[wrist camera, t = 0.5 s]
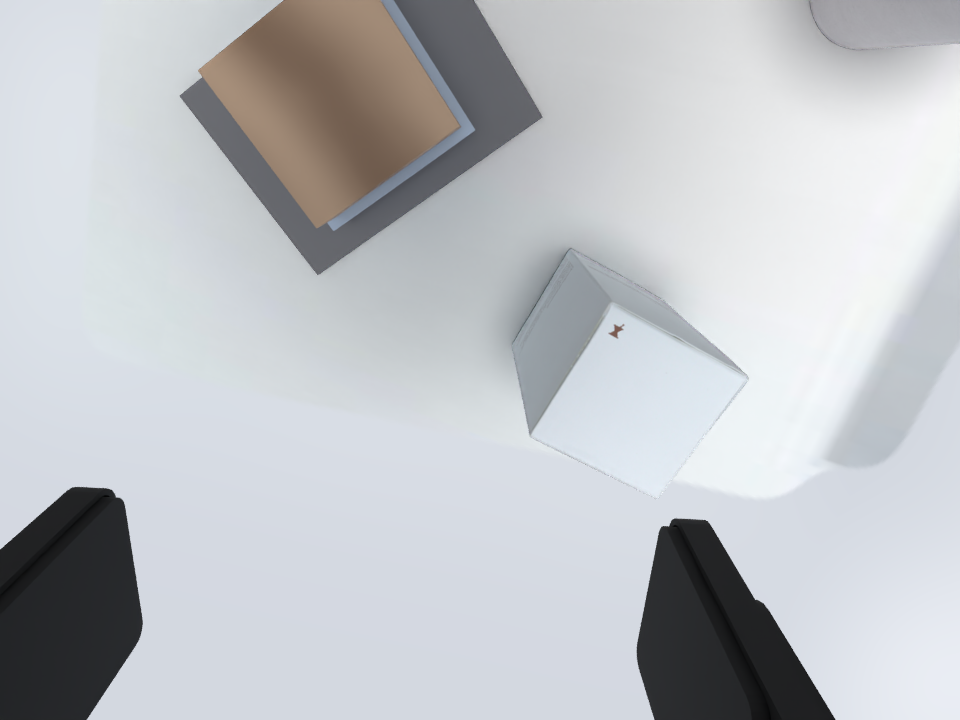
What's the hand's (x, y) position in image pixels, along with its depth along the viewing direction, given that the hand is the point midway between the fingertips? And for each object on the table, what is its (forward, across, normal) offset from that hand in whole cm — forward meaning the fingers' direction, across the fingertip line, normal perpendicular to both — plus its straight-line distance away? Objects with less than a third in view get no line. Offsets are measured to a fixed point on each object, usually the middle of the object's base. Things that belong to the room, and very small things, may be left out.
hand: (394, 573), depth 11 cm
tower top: (+24, +5, -8) cm, 26 cm away
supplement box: (+29, -9, +4) cm, 30 cm away
